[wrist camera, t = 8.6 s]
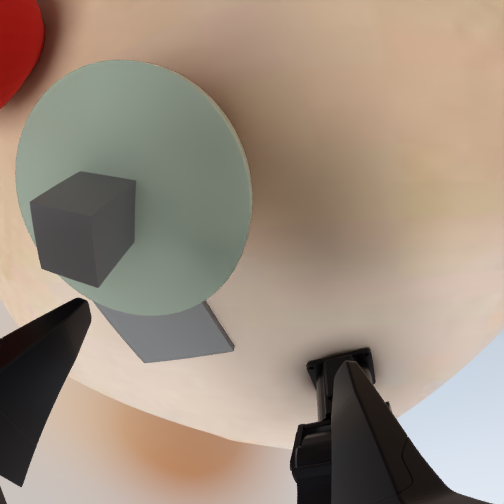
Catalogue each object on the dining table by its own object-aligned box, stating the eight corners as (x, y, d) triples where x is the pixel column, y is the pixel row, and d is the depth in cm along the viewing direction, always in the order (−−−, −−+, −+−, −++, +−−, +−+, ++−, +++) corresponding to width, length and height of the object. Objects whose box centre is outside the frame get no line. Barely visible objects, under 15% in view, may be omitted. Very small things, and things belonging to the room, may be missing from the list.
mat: (234, 346, 27) (233, 351, 26) (146, 359, 30) (144, 363, 29) (175, 251, 22) (173, 256, 21) (85, 283, 25) (82, 287, 24)
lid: (284, 79, 10) (287, 71, 6) (226, 327, 16) (212, 393, 13) (28, 69, 9) (-37, 80, 5) (42, 272, 16) (4, 314, 12)
